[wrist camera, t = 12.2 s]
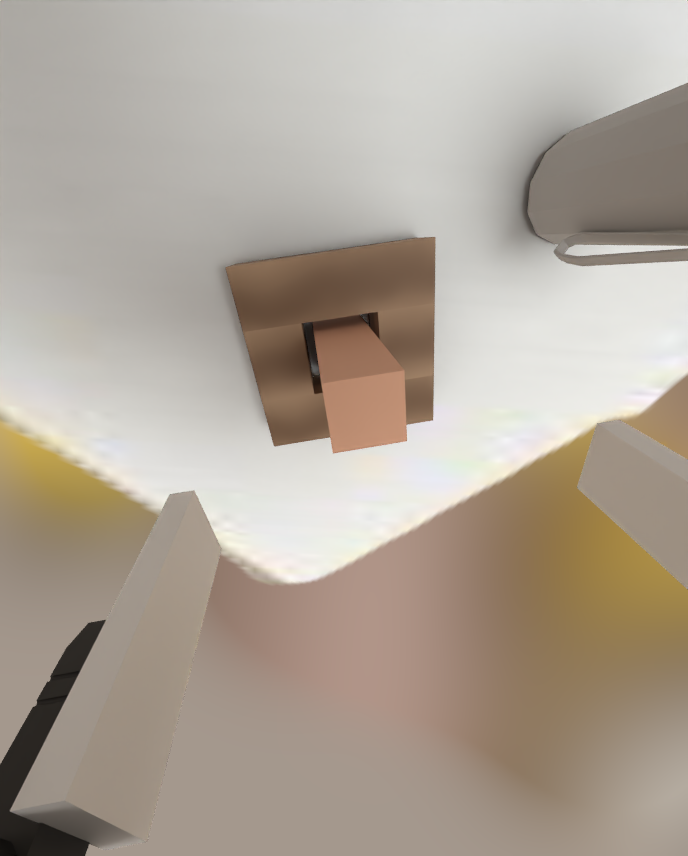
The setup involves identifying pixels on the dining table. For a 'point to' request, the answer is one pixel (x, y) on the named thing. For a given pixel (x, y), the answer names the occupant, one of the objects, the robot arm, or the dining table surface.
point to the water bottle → (618, 184)
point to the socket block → (326, 299)
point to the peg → (359, 385)
